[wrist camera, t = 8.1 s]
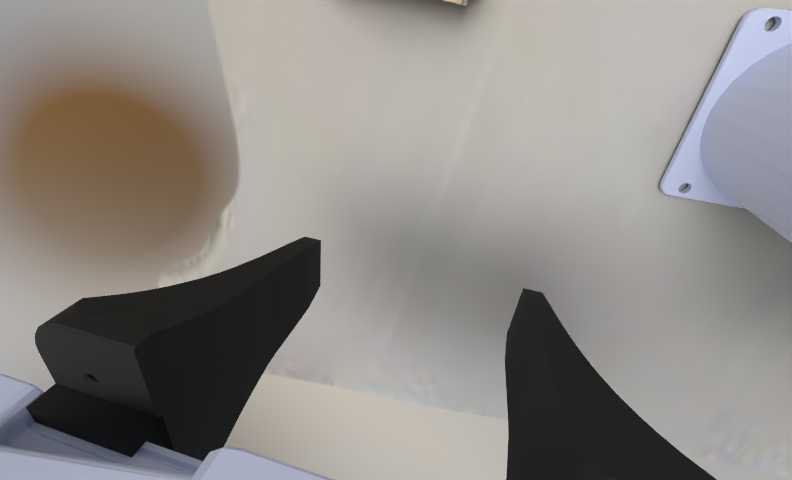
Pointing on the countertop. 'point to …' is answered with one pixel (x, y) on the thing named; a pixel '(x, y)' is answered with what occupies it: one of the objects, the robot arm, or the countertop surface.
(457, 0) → the tower top
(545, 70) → the countertop surface
